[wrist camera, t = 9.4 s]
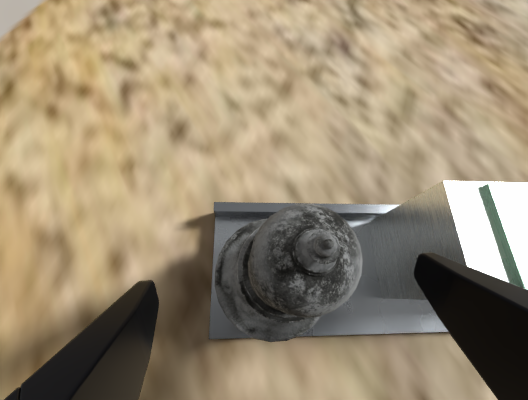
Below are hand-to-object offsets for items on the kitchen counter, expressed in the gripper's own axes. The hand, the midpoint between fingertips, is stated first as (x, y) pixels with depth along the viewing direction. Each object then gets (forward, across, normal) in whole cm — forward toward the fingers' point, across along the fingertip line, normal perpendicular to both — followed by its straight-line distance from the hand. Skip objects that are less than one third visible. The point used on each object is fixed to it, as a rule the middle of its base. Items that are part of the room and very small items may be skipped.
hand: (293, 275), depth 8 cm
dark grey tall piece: (+6, 0, +5) cm, 8 cm away
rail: (+7, -6, +6) cm, 11 cm away
